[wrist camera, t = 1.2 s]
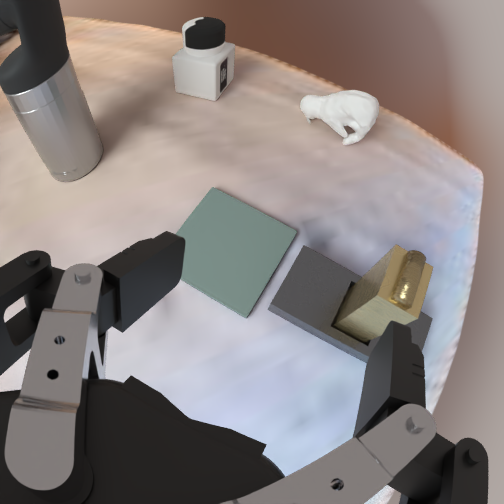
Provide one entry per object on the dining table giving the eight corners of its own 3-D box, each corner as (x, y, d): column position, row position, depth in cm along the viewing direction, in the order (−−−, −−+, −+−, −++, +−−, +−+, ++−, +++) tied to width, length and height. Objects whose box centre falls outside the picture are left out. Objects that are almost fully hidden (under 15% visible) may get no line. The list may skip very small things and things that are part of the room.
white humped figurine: (378, 113, 38) (296, 85, 40) (364, 155, 46) (292, 128, 48) (385, 92, 41) (310, 67, 43) (372, 131, 48) (305, 108, 51)
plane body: (267, 309, 35) (270, 303, 33) (299, 254, 38) (303, 244, 36) (400, 380, 33) (411, 378, 30) (421, 323, 36) (432, 318, 33)
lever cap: (328, 329, 35) (384, 290, 22) (345, 292, 37) (402, 237, 24) (357, 345, 34) (425, 314, 21) (373, 307, 36) (440, 261, 23)
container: (234, 78, 52) (237, 17, 40) (215, 102, 48) (215, 35, 37) (195, 70, 52) (193, 11, 40) (174, 93, 49) (168, 29, 37)
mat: (156, 264, 36) (155, 261, 36) (212, 190, 41) (212, 186, 40) (246, 318, 35) (246, 316, 34) (296, 234, 39) (297, 231, 39)
